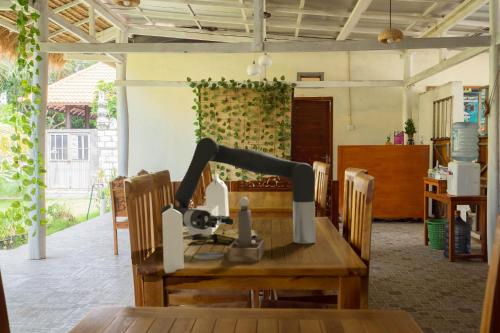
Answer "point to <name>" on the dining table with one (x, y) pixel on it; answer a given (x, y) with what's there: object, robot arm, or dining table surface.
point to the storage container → (192, 231)
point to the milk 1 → (172, 240)
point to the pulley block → (222, 236)
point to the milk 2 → (218, 196)
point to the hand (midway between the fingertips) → (223, 223)
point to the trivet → (209, 255)
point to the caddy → (246, 251)
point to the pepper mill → (244, 224)
